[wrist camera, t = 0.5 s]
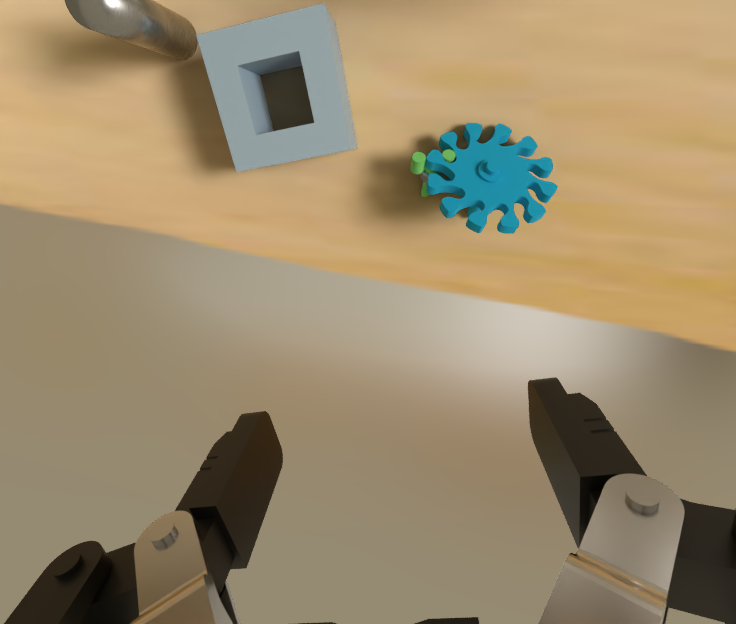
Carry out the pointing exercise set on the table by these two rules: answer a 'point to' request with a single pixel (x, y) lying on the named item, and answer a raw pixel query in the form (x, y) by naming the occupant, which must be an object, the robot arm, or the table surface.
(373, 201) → the table surface
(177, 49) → the pin
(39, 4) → the table surface
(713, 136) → the table surface
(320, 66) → the socket block
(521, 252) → the table surface
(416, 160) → the teal lobed toy
